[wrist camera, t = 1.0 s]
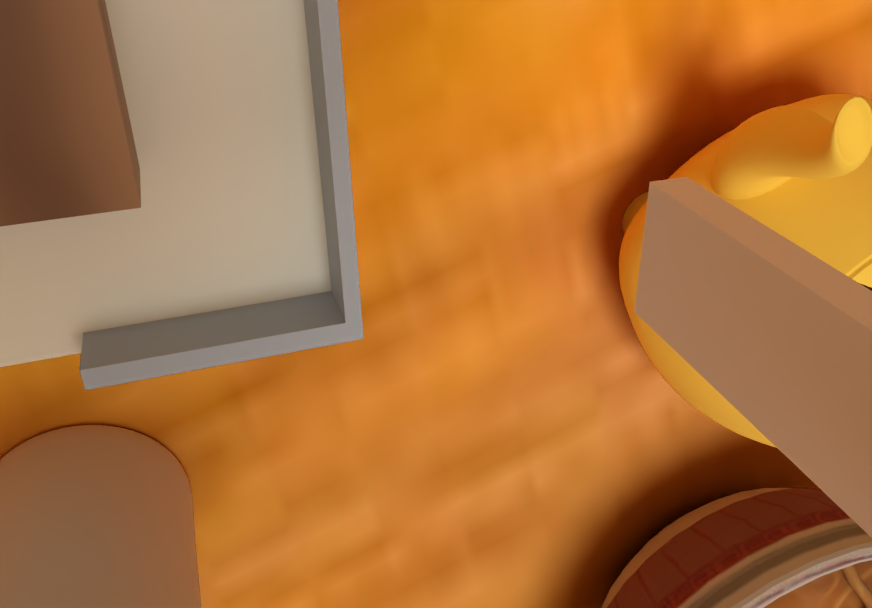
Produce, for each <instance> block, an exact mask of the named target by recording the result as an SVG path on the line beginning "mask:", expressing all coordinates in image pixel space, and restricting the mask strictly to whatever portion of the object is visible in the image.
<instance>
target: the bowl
mask: <svg viewBox="0 0 872 608" xmlns="http://www.w3.org/2000/svg"><path fill="white" fill-rule="evenodd" d="M601 608H872V538H871V537H870V536H869V535H868V534H867V533H866V532H865V531H864V530H863V529H862V528H861V527H860V526H859V525H858V524H857V523H856V522H855V521H854V520H852V519H851V518H850V517H849V516H848V515H847V514H846V513H845V512H844V511H843V510H842V509H841V508H840V507H839V506H838V505H837V504H836V503H835V502H834V501H832V500H831V499H830V498H829V497H828V496H827V495H826V494H825V493H824V492H823V491H822V490H821V489H812V488H761V489H755V490H749V491H743V492H739V493H736V494H733V495H729V496H726V497H723V498H720V499H717V500H715V501H712V502H710V503H708V504H706V505H703V506H701V507H699V508H697V509H695V510H693V511H691V512H689V513H687V514H685V515H683V516H681V517H680V518H678V519H677V520H675V521H674V522H672V523H671V524H669V525H667V526H666V527H665V528H663V529H662V530H661V531H660V532H659V533H657V534H656V535H655V536H654V537H653V538H651V539H650V540H649V541H648V542H647V543H646V544H645V545H644V546H643V548H642V549H641V550H640V551H639V552H638V553H637V554H636V555H635V556H634V557H633V558H632V560H631V561H630V562H629V563H628V564H627V565H626V567H625V568H624V569H623V571H622V572H621V574H620V575H619V577H618V578H617V580H616V581H615V582H614V584H613V585H612V587H611V588H610V590H609V592H608V595H607V597H606V599H605V601H604V603H603V605H602V607H601Z"/></svg>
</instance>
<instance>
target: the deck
mask: <svg viewBox="0 0 872 608" xmlns="http://www.w3.org/2000/svg"><path fill="white" fill-rule="evenodd" d="M105 3H106V8H107V12H108V17H109V22H110V27H111V32H112V36H113V41H114V46H115V51H116V56H117V61H118V65H119V70H120V75H121V80H122V85H123V89H124V94H125V99H126V104H127V109H128V113H129V118H130V123H131V128H132V133H133V138H134V142H135V147H136V152H137V157H138V162H139V166H140V188H141V208H135V209H128V210H120V211H113V212H105V213H98V214H90V215H83V216H75V217H68V218H60V219H53V220H46V221H38V222H31V223H23V224H16V225H8V226H1V227H0V367H4V366H10V365H16V364H21V363H27V362H33V361H39V360H45V359H50V358H56V357H62V356H68V355H73V354H79V353H81V361H80V374H81V377H82V381H83V384H84V388H85V390H90V389H95V388H101V387H106V386H112V385H117V384H123V383H128V382H133V381H139V380H144V379H150V378H155V377H161V376H166V375H171V374H177V373H182V372H188V371H193V370H198V369H204V368H209V367H215V366H220V365H226V364H231V363H236V362H242V361H247V360H253V359H258V358H263V357H269V356H274V355H280V354H285V353H291V352H296V351H301V350H307V349H312V348H318V347H323V346H329V345H334V344H339V343H345V342H350V341H356V340H361V339H364V338H363V325H362V312H361V299H360V286H359V272H358V259H357V246H356V233H355V220H354V207H353V194H352V181H351V168H350V155H349V142H348V129H347V116H346V103H345V90H344V77H343V64H342V51H341V38H340V25H339V12H338V0H105Z"/></svg>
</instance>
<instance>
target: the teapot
mask: <svg viewBox="0 0 872 608" xmlns="http://www.w3.org/2000/svg"><path fill="white" fill-rule="evenodd" d="M680 177H688V178H689V179H691V180H693V181H694V182H696V183H697V184H699V185H701V186H702V187H704V188H705V189H707V190H709V191H710V192H712V193H714V194H715V195H717V196H718V197H720V198H722V199H723V200H725V201H727V202H728V203H730V204H731V205H733V206H735V207H736V208H738V209H740V210H741V211H743V212H744V213H746V214H748V215H749V216H751V217H752V218H754V219H756V220H757V221H759V222H761V223H762V224H764V225H765V226H767V227H769V228H770V229H772V230H774V231H775V232H777V233H778V234H780V235H782V236H783V237H785V238H787V239H788V240H790V241H791V242H793V243H795V244H796V245H798V246H799V247H801V248H803V249H804V250H806V251H808V252H809V253H811V254H812V255H814V256H816V257H817V258H819V259H821V260H822V261H824V262H825V263H827V264H829V265H830V266H832V267H833V268H835V269H837V270H838V271H840V272H842V273H843V274H845V275H846V276H848V277H850V278H851V279H853V280H855V281H856V282H858V283H860V284H863V285H866V286H868V287H871V288H872V100H869V99H867V98H864V97H862V96H857V95H853V94H826V95H820V96H816V97H812V98H808V99H804V100H801V101H798V102H795V103H791V104H788V105H784V106H778V107H773V108H771V109H768V110H765V111H762V112H759V113H757V114H755V115H753V116H752V117H750V118H749V119H747V120H745V121H744V122H742V123H741V124H740V125H739V126H738V127H736V128H735V129H733V130H731V131H729V132H728V133H726V134H724V135H722V136H721V137H719V138H718V139H716V140H715V141H713V142H711V143H710V144H708V145H707V146H706V147H704V148H703V149H702V150H700V151H699V152H698V153H696V154H695V155H694V156H692V157H691V158H690V159H689V160H688V161H687V162H685V163H684V164H683V165H682V166H681V167H680V168H679V169H677V170H676V171H675V172H674V173H673V174H672V175H671V176H670V177H669V178H668V179H673V178H680ZM647 200H648V192H646V193H643V194H641V195H639V196H638V197H636V198H635V199H634V200H633V201H632V202H631V203H630V204H629V206H628V207H627V209H626V211H625V213H624V216H623V222H622V226H623V231H624V234H625V235H624V237H623V240H622V244H621V249H620V256H619V278H620V287H621V291H622V295H623V299H624V303H625V306H626V309H627V312H628V314H629V317H630V320H631V323H632V325H633V328H634V330H635V332H636V334H637V336H638V339H639V341H640V343H641V345H642V347H643V349H644V351H645V352H646V354H647V356H648V357H649V359H650V360H651V362H652V364H653V365H654V366H655V368H656V369H657V370H658V372H659V373H660V374H661V376H662V377H663V378H664V379H665V381H666V382H667V383H668V384H669V385H670V386H671V387H672V388H673V389H674V390H675V391H676V392H677V393H678V394H679V395H680V396H681V397H682V398H683V399H684V400H685V401H686V402H687V403H689V404H690V405H691V406H693V407H694V408H695V409H697V410H698V411H700V412H701V413H703V414H704V415H706V416H707V417H709V418H710V419H712V420H714V421H715V422H717V423H719V424H720V425H722V426H724V427H726V428H728V429H730V430H732V431H734V432H736V433H737V434H739V435H742V436H744V437H747V438H749V439H752V440H755V441H757V442H760V443H763V444H766V445H769V446H772V447H776V446H775V445H774V444H773V443H772V442H771V441H769V440H768V439H767V438H766V437H765V436H764V435H763V434H762V433H761V432H760V431H759V430H758V429H757V428H756V427H755V426H754V425H753V424H752V423H751V422H750V421H748V420H747V419H746V418H745V417H744V416H743V415H742V414H741V413H740V412H739V411H738V410H737V409H736V408H735V407H734V406H733V405H732V404H731V403H730V402H729V401H727V400H726V399H725V398H724V397H723V396H722V395H721V394H720V393H719V392H718V391H717V390H716V389H715V388H714V387H713V386H712V385H711V384H710V383H709V382H708V381H706V380H705V379H704V378H703V377H702V376H701V375H700V374H699V373H698V372H697V371H696V370H695V369H694V368H693V367H692V366H691V365H690V364H689V363H688V362H686V361H685V360H684V359H683V358H682V357H681V356H680V355H679V354H678V353H677V352H676V351H675V350H674V349H673V348H672V347H671V346H670V345H669V344H668V343H667V342H665V341H664V340H663V339H662V338H661V337H660V336H659V335H658V334H657V333H656V332H655V331H654V330H653V329H652V328H651V327H650V326H649V325H648V324H647V323H646V322H644V321H643V320H642V319H641V318H640V317H639V316H638V315H637V314H636V313H635V312H634V310H635V301H636V293H637V284H638V276H639V267H640V259H641V251H642V242H643V234H644V225H645V217H646V208H647ZM776 448H777V447H776Z"/></svg>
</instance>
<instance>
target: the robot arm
mask: <svg viewBox="0 0 872 608" xmlns="http://www.w3.org/2000/svg"><path fill="white" fill-rule="evenodd" d="M634 312H635V313H636V314H637V315H638V316H639V317H640V318H641V319H642V320H643V321H644V322H646V323H647V324H648V325H649V326H650V327H651V328H652V329H653V330H654V331H655V332H656V333H657V334H658V335H659V336H660V337H661V338H662V339H663V340H664V341H665V342H667V343H668V344H669V345H670V346H671V347H672V348H673V349H674V350H675V351H676V352H677V353H678V354H679V355H680V356H681V357H682V358H683V359H684V360H685V361H686V362H688V363H689V364H690V365H691V366H692V367H693V368H694V369H695V370H696V371H697V372H698V373H699V374H700V375H701V376H702V377H703V378H704V379H705V380H706V381H708V382H709V383H710V384H711V385H712V386H713V387H714V388H715V389H716V390H717V391H718V392H719V393H720V394H721V395H722V396H723V397H724V398H725V399H726V400H727V401H729V402H730V403H731V404H732V405H733V406H734V407H735V408H736V409H737V410H738V411H739V412H740V413H741V414H742V415H743V416H744V417H745V418H746V419H747V420H748V421H750V422H751V423H752V424H753V425H754V426H755V427H756V428H757V429H758V430H759V431H760V432H761V433H762V434H763V435H764V436H765V437H766V438H767V439H768V440H769V441H771V442H772V443H773V444H774V445H775V446H776V447H777V448H778V449H779V450H780V451H781V452H782V453H783V454H784V455H785V456H786V457H787V458H788V459H789V460H790V461H792V462H793V463H794V464H795V465H796V466H797V467H798V468H799V469H800V470H801V471H802V472H803V473H804V474H805V475H806V476H807V477H808V478H809V479H810V480H811V481H813V482H814V483H815V484H816V485H817V486H818V487H819V488H820V489H821V490H822V491H823V492H824V493H825V494H826V495H827V496H828V497H829V498H830V499H831V500H832V501H834V502H835V503H836V504H837V505H838V506H839V507H840V508H841V509H842V510H843V511H844V512H845V513H846V514H847V515H848V516H849V517H850V518H851V519H852V520H854V521H855V522H856V523H857V524H858V525H859V526H860V527H861V528H862V529H863V530H864V531H865V532H866V533H867V534H868V535H869V536H870V537H871V538H872V288H871V287H868V286H866V285H863V284H860V283H858V282H856V281H855V280H853V279H851V278H850V277H848V276H846V275H845V274H843V273H842V272H840V271H838V270H837V269H835V268H833V267H832V266H830V265H829V264H827V263H825V262H824V261H822V260H821V259H819V258H817V257H816V256H814V255H812V254H811V253H809V252H808V251H806V250H804V249H803V248H801V247H799V246H798V245H796V244H795V243H793V242H791V241H790V240H788V239H787V238H785V237H783V236H782V235H780V234H778V233H777V232H775V231H774V230H772V229H770V228H769V227H767V226H765V225H764V224H762V223H761V222H759V221H757V220H756V219H754V218H752V217H751V216H749V215H748V214H746V213H744V212H743V211H741V210H740V209H738V208H736V207H735V206H733V205H731V204H730V203H728V202H727V201H725V200H723V199H722V198H720V197H718V196H717V195H715V194H714V193H712V192H710V191H709V190H707V189H705V188H704V187H702V186H701V185H699V184H697V183H696V182H694V181H693V180H691V179H689V178H688V177H680V178H673V179H666V180H658V181H651V182H650V183H649V192H648V200H647V208H646V217H645V225H644V234H643V242H642V251H641V259H640V267H639V276H638V284H637V293H636V301H635V310H634Z"/></svg>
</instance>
